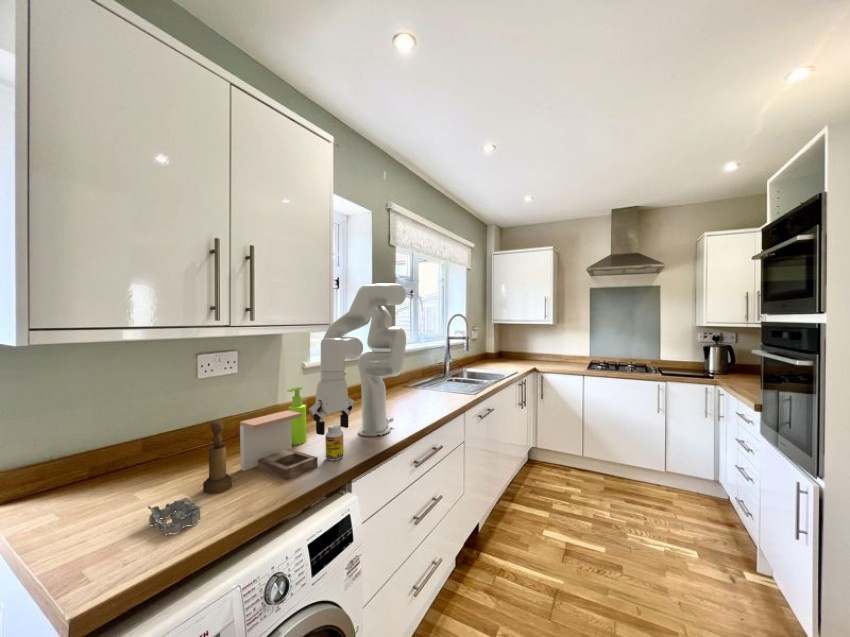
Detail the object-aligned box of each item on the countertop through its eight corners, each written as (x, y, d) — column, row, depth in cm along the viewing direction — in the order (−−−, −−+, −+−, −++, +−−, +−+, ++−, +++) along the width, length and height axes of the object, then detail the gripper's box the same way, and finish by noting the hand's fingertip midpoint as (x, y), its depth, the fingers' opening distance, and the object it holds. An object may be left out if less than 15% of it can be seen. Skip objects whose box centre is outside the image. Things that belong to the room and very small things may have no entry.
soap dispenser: (283, 444, 128) (282, 388, 128) (298, 438, 134) (297, 385, 134) (295, 446, 125) (294, 389, 125) (309, 440, 131) (308, 386, 132)
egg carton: (145, 524, 78) (145, 506, 78) (184, 509, 84) (183, 492, 84) (164, 540, 72) (164, 520, 72) (205, 522, 78) (204, 504, 78)
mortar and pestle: (237, 485, 95) (236, 418, 96) (215, 496, 89) (214, 424, 90) (220, 481, 98) (219, 416, 98) (197, 492, 92) (196, 422, 92)
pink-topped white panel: (288, 452, 119) (287, 410, 120) (302, 457, 115) (301, 413, 115) (240, 469, 106) (239, 421, 106) (254, 474, 102) (253, 425, 102)
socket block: (289, 458, 114) (289, 448, 114) (317, 467, 106) (317, 457, 106) (258, 469, 106) (257, 459, 106) (286, 480, 98) (286, 469, 98)
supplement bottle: (324, 462, 110) (323, 429, 111) (327, 455, 116) (327, 424, 116) (342, 461, 111) (341, 428, 111) (344, 454, 116) (344, 423, 117)
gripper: (345, 373, 123) (345, 423, 122) (302, 378, 109) (302, 435, 108) (360, 374, 119) (360, 426, 118) (318, 380, 104) (318, 439, 104)
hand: (332, 430), depth 113 cm, fingers open, 9 cm apart
